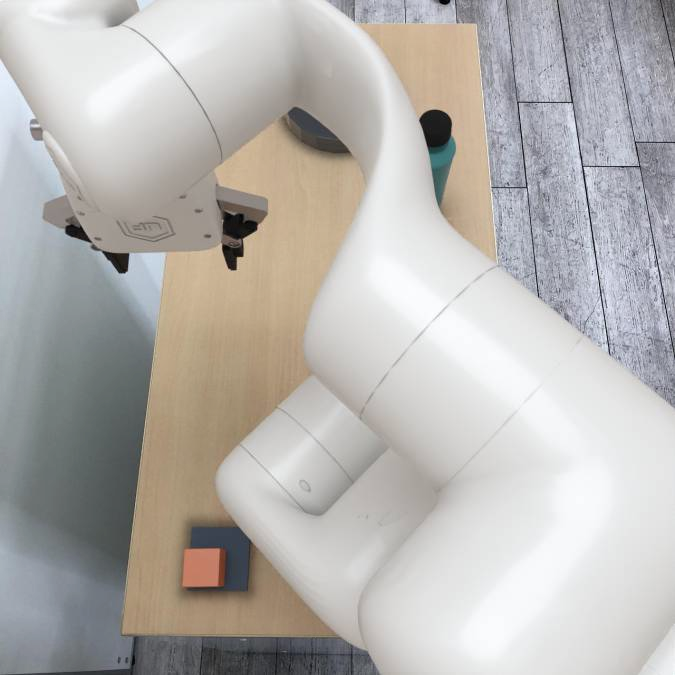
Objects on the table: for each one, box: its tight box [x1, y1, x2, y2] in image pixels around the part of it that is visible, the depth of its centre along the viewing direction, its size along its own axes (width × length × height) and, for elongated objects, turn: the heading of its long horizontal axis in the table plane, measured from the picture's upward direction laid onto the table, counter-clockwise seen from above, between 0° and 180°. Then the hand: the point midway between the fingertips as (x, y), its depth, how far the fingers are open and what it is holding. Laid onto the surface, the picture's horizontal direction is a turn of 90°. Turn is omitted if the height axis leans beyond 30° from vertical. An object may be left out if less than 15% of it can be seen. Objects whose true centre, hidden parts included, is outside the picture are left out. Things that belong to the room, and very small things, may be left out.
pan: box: [283, 107, 351, 154], centre depth 96 cm, size 17×17×4 cm
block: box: [181, 548, 226, 588], centre depth 72 cm, size 4×4×4 cm
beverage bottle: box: [418, 108, 457, 210], centre depth 82 cm, size 6×7×20 cm
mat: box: [185, 526, 251, 592], centre depth 74 cm, size 7×7×1 cm
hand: (179, 257), depth 56 cm, fingers open, 9 cm apart
